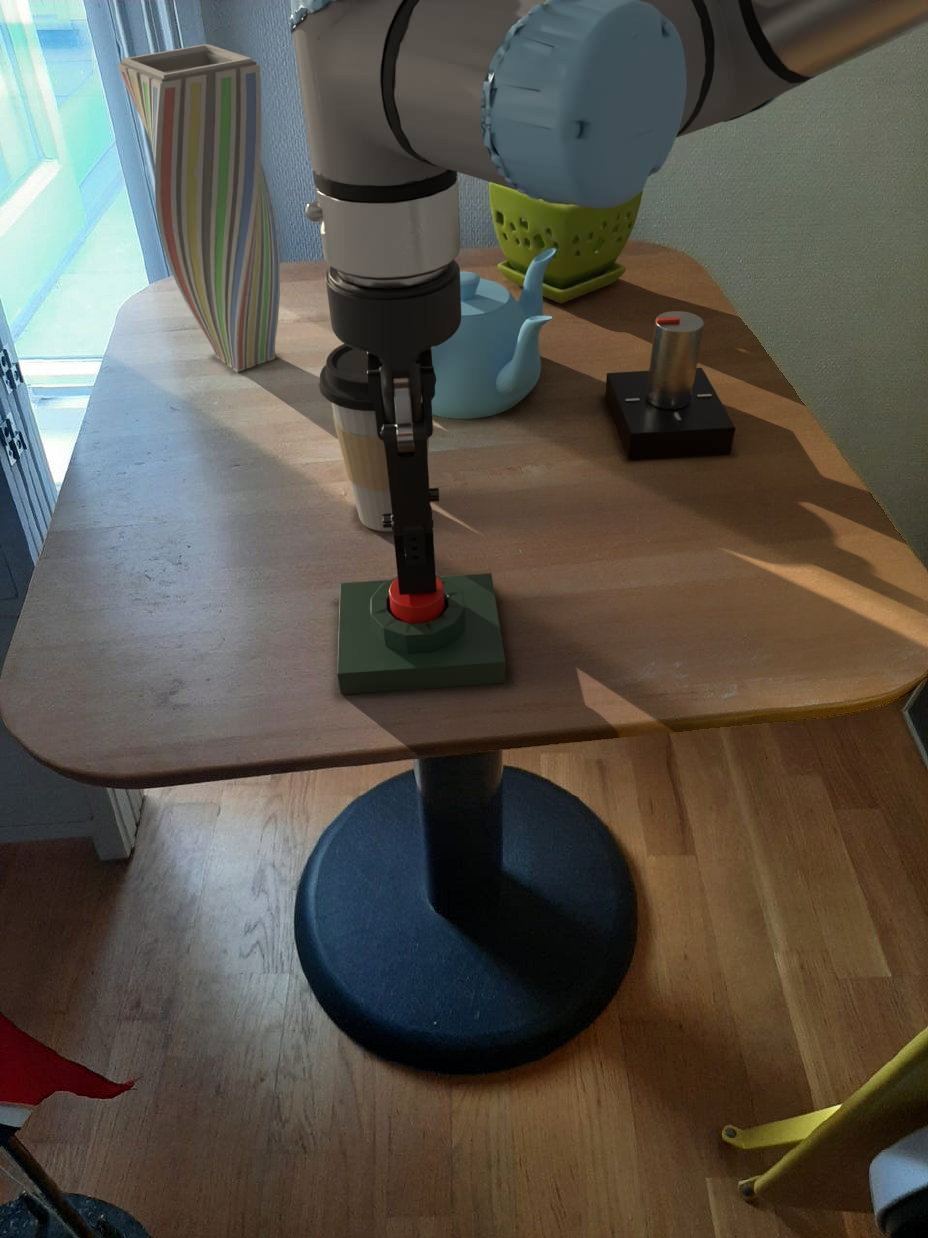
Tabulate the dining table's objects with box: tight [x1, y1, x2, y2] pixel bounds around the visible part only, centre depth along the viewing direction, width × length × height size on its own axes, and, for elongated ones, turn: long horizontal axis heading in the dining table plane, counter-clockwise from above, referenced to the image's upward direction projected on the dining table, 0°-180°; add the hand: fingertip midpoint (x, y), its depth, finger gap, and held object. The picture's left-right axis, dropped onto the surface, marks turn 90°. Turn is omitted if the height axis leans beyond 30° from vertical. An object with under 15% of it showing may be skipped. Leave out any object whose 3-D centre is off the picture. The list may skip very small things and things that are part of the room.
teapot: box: [431, 248, 556, 420], centre depth 95 cm, size 17×19×12 cm
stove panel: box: [604, 367, 737, 461], centre depth 92 cm, size 12×10×3 cm
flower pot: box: [488, 182, 644, 304], centre depth 115 cm, size 14×14×13 cm
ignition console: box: [336, 572, 506, 696], centre depth 69 cm, size 10×12×4 cm
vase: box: [116, 43, 281, 373], centre depth 96 cm, size 14×14×30 cm
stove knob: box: [646, 310, 705, 409], centre depth 88 cm, size 4×4×8 cm
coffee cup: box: [318, 343, 436, 533], centre depth 78 cm, size 9×9×15 cm
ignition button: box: [389, 577, 445, 624], centre depth 68 cm, size 4×4×2 cm
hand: (417, 586), depth 67 cm, fingers closed
